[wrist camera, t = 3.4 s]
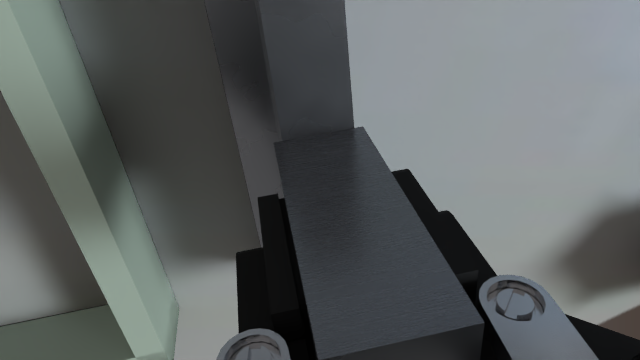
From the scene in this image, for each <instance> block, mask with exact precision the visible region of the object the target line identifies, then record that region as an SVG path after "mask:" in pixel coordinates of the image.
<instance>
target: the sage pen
mask: <svg viewBox="0 0 640 360" xmlns="http://www.w3.org/2000/svg"><path fill="white" fill-rule="evenodd" d="M0 91H1V93H2V95H3V97H4V99H5V101H6V103H7V105H8V107H9V109H10V111H11V113H12V115H13V117H14V119H15V121H16V123H17V125H18V127H19V129H20V130H21V132H22V134H23V136H24V138H25V140H26V142H27V144H28V146H29V148H30V150H31V152H32V154H33V156H34V158H35V160H36V162H37V164H38V166H39V168H40V170H41V172H42V174H43V176H44V178H45V180H46V182H47V184H48V186H49V188H50V190H51V192H52V194H53V196H54V198H55V200H56V202H57V204H58V205H59V207H60V209H61V211H62V213H63V215H64V217H65V219H66V221H67V223H68V225H69V227H70V229H71V231H72V233H73V235H74V237H75V239H76V241H77V243H78V245H79V247H80V249H81V251H82V253H83V255H84V257H85V259H86V261H87V263H88V265H89V267H90V269H91V271H92V273H93V275H94V277H95V279H96V281H97V282H98V284H99V286H100V288H101V290H102V292H103V294H104V296H105V298H106V300H107V302H108V304H109V305H104V306H99V307H94V308H90V309H85V310H80V311H75V312H70V313H65V314H60V315H55V316H50V317H46V318H41V319H36V320H31V321H26V322H21V323H16V324H11V325H7V326H2V327H0V360H174V351H175V342H176V333H177V324H178V315H179V307H178V304H177V302H176V299H175V297H174V294H173V292H172V289H171V287H170V284H169V281H168V279H167V276H166V274H165V271H164V269H163V266H162V264H161V261H160V258H159V256H158V253H157V251H156V248H155V246H154V243H153V241H152V238H151V235H150V233H149V230H148V228H147V225H146V223H145V220H144V218H143V215H142V212H141V210H140V207H139V205H138V202H137V200H136V197H135V195H134V192H133V189H132V187H131V184H130V182H129V179H128V177H127V174H126V172H125V169H124V167H123V164H122V161H121V159H120V156H119V154H118V151H117V149H116V146H115V144H114V141H113V138H112V136H111V133H110V131H109V128H108V126H107V123H106V121H105V118H104V115H103V113H102V110H101V108H100V105H99V103H98V100H97V98H96V95H95V92H94V90H93V87H92V85H91V82H90V80H89V77H88V75H87V72H86V69H85V67H84V64H83V62H82V59H81V57H80V54H79V52H78V49H77V46H76V44H75V41H74V39H73V36H72V34H71V31H70V29H69V26H68V23H67V21H66V18H65V16H64V13H63V11H62V8H61V6H60V3H59V0H0Z"/></svg>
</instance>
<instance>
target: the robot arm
mask: <svg viewBox="0 0 640 360" xmlns="http://www.w3.org/2000/svg"><path fill="white" fill-rule="evenodd" d="M391 173H392V174H393V176H394V177H395V179H396V181H397V182H398V184H399V186H400V187H401V189H402V190H403V192H404V194H405V195H406V197H407V198H408V200H409V202H410V203H411V205H412V206H413V208H414V210H415V211H416V213H417V215H418V216H419V218H420V219H421V221H422V223H423V224H424V226H425V227H426V229H427V231H428V232H429V234H430V236H431V237H432V239H433V240H434V242H435V244H436V245H437V247H438V248H439V250H440V252H441V253H442V255H443V256H444V258H445V260H446V261H447V263H448V265H449V266H450V268H451V269H452V271H453V273H454V274H455V276H456V277H457V279H458V281H459V282H460V284H461V285H462V287H463V289H464V290H465V292H466V294H467V295H468V297H469V298H470V300H471V302H472V303H473V305H474V306H475V308H476V310H477V311H478V313H479V315H480V316H481V318H482V319H483V321H484V332H483V340H482V348H481V356H480V360H640V340H637V339H635V338H632V337H629V336H626V335H623V334H620V333H618V332H615V331H612V330H609V329H606V328H603V327H600V326H598V325H595V324H592V323H589V322H586V321H583V320H580V319H578V318H575V317H572V316H569V315H566V314H564V313H563V311H562V310H561V309H560V307H559V306H558V305H557V303H556V302H555V301H554V299H553V298H552V297H551V295H550V294H549V293H548V292H547V291H546V290H545V289H544V288H543V287H542V286H541V285H539V284H537V283H536V282H534V281H532V280H530V279H527V278H524V277H522V276H515V275H499V276H497V275H496V273H495V272H494V271H493V269H492V268H491V267H490V265H489V264H488V262H487V261H486V260H485V258H484V257H483V256H482V254H481V253H480V251H479V250H478V249H477V247H476V246H475V245H474V243H473V242H472V241H471V239H470V238H469V236H468V235H467V234H466V232H465V231H464V230H463V228H462V227H461V226H460V224H459V223H458V221H457V220H456V219H455V217H454V216H453V215H452V214H451V213H450V212H449V211H447V210H446V211H441V212H438V211H437V209H436V208H435V206H434V205H433V203H432V202H431V201H430V199H429V198H428V196H427V195H426V193H425V192H424V190H423V189H422V188H421V186H420V185H419V183H418V182H417V180H416V179H415V177H414V176H413V175H412V173H411V172H410V170H409V169H404V170H398V171H393V172H391ZM258 208H259V216H260V225H261V234H262V242H263V247H262V248H257V249H252V250H247V251H242V252H237V253H236V268H237V296H238V324H239V334H237V335H236V336H234V337H233V338H231V339H230V340H228V342H227V343H226V344H225V345H224V346H223V347H222V348H221V350H220V352H219V354H218V356H217V359H216V360H316V357H315V351H314V345H313V340H312V334H311V329H310V323H309V317H308V312H307V307H306V301H305V296H304V292H303V287H302V282H301V277H300V272H299V267H298V262H297V257H296V253H295V248H294V243H293V238H292V233H291V228H290V223H289V218H288V214H287V209H286V204H285V199H284V198H281V199H279V197H278V193H277V194H272V195H267V196H262V197H258Z"/></svg>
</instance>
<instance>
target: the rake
mask: <svg viewBox="0 0 640 360" xmlns="http://www.w3.org/2000/svg"><path fill="white" fill-rule="evenodd" d="M204 3H205V7H206V11H207V16H208V20H209V24H210V28H211V33H212V37H213V41H214V46H215V50H216V54H217V59H218V63H219V67H220V72H221V76H222V80H223V85H224V89H225V93H226V98H227V102H228V106H229V111H230V115H231V119H232V124H233V128H234V132H235V137H236V141H237V145H238V150H239V154H240V158H241V162H242V167H243V171H244V175H245V180H246V184H247V188H248V193H249V197H250V201H251V206H252V210H253V214H254V219H255V223H256V227H257V232H258V236H259V240H260V245H261V248H262V247H263V242H262V234H261V225H260V216H259V208H258V197H262V196H267V195H272V194H277V193H278V197H279V199H281V198H284V199H285V204H286V209H287V214H288V218H289V223H290V228H291V233H292V238H293V243H294V248H295V253H296V257H297V262H298V267H299V272H300V277H301V282H302V287H303V292H304V296H305V301H306V307H307V312H308V317H309V323H310V329H311V334H312V340H313V345H314V351H315V357H316V360H480V356H481V348H482V340H483V332H484V321H483V319H482V318H481V316H480V315H479V313H478V311H477V310H476V308H475V306H474V305H473V303H472V302H471V300H470V298H469V297H468V295H467V294H466V292H465V290H464V289H463V287H462V285H461V284H460V282H459V281H458V279H457V277H456V276H455V274H454V273H453V271H452V269H451V268H450V266H449V265H448V263H447V261H446V260H445V258H444V256H443V255H442V253H441V252H440V250H439V248H438V247H437V245H436V244H435V242H434V240H433V239H432V237H431V236H430V234H429V232H428V231H427V229H426V227H425V226H424V224H423V223H422V221H421V219H420V218H419V216H418V215H417V213H416V211H415V210H414V208H413V206H412V205H411V203H410V202H409V200H408V198H407V197H406V195H405V194H404V192H403V190H402V189H401V187H400V186H399V184H398V182H397V181H396V179H395V177H394V176H393V174H392V173H391V171H390V169H389V168H388V166H387V165H386V163H385V161H384V160H383V158H382V156H381V155H380V153H379V152H378V150H377V148H376V147H375V145H374V144H373V142H372V140H371V139H370V137H369V136H368V134H367V132H366V131H365V129H364V127H358V128H354V120H353V107H352V94H351V80H350V67H349V54H348V41H347V28H346V15H345V1H344V0H204Z"/></svg>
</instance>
